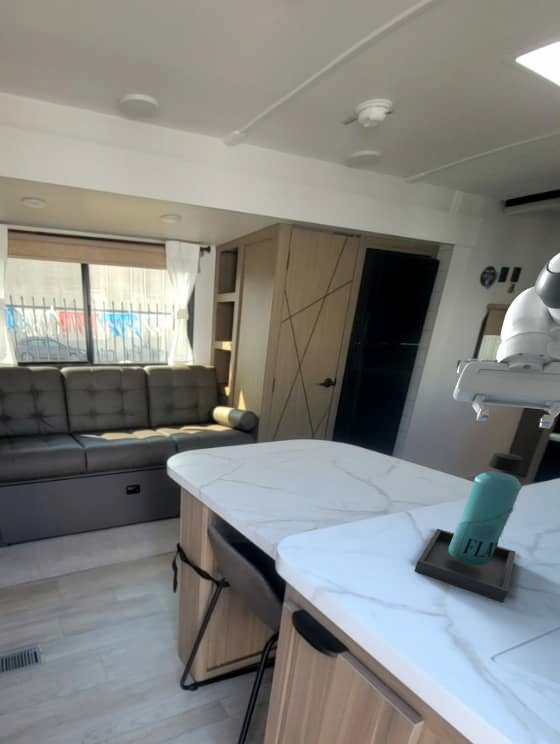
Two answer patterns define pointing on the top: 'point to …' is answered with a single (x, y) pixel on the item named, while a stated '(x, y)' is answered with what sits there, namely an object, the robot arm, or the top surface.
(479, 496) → the beverage bottle
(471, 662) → the top surface
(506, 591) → the tray
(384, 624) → the top surface
